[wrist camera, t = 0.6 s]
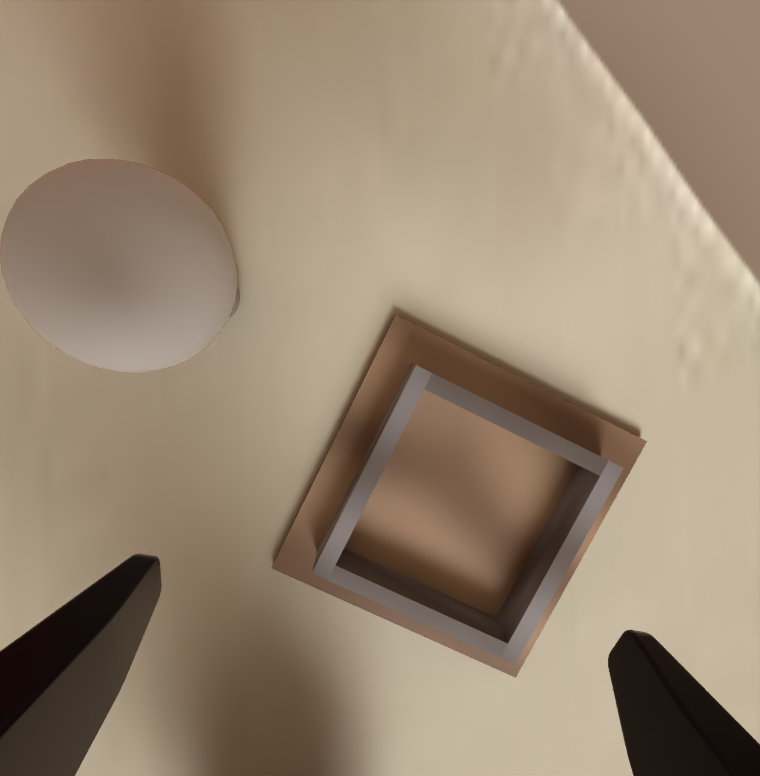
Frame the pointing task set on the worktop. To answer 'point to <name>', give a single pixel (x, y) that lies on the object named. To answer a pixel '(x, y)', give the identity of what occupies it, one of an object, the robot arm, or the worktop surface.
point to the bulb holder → (456, 498)
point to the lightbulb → (119, 265)
